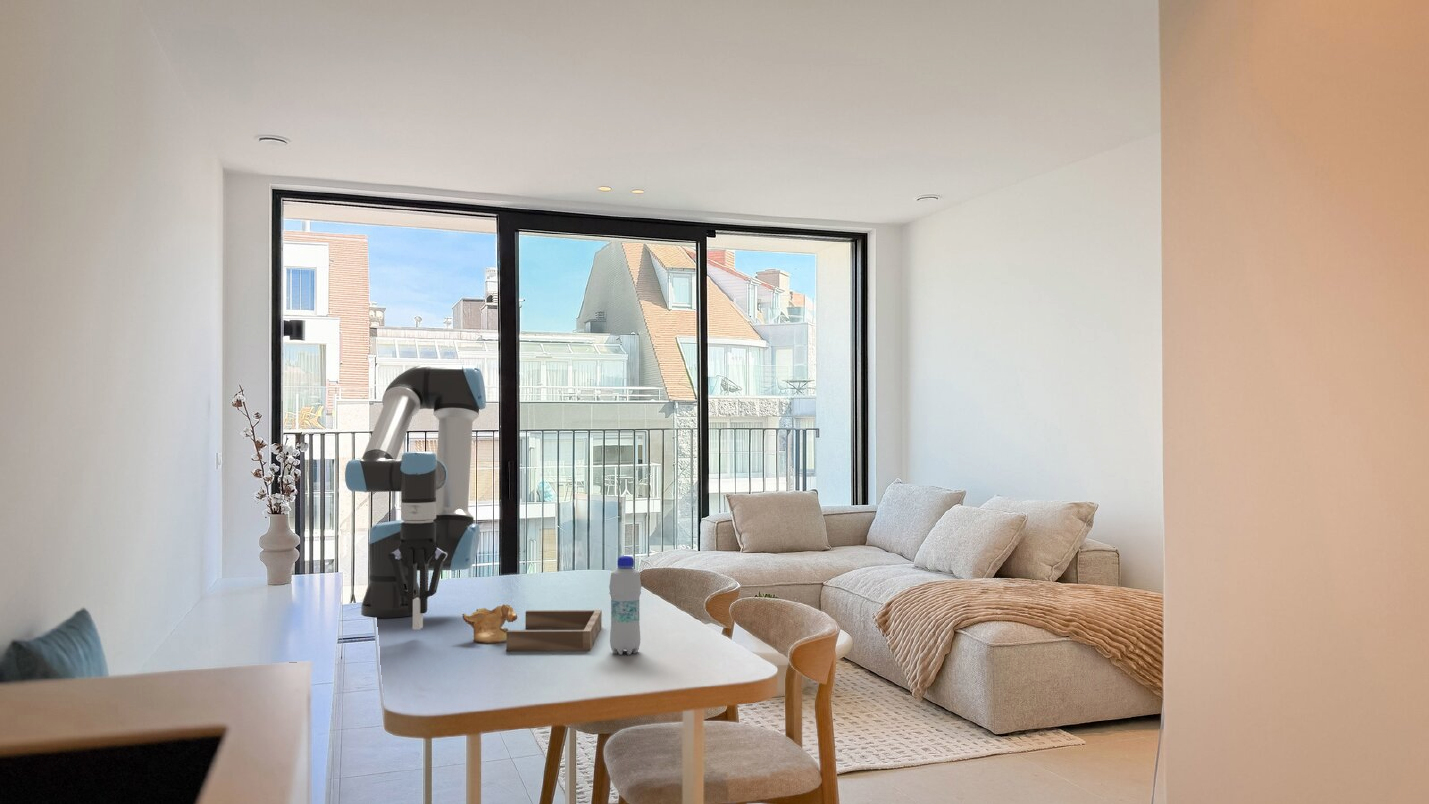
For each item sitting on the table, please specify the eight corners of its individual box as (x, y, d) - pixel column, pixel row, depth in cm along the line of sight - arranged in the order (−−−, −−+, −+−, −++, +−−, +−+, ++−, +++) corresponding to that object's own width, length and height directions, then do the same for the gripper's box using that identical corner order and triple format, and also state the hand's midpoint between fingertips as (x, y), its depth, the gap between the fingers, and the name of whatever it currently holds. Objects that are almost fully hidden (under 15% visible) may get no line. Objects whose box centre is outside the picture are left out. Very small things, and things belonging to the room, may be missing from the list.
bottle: (646, 650, 205) (646, 554, 206) (633, 657, 199) (633, 558, 200) (617, 647, 208) (617, 553, 208) (603, 654, 201) (603, 557, 202)
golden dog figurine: (512, 633, 222) (512, 596, 223) (524, 642, 214) (524, 603, 214) (459, 638, 217) (459, 600, 217) (469, 647, 208) (469, 608, 209)
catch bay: (526, 627, 229) (526, 610, 229) (601, 627, 229) (601, 610, 229) (506, 650, 205) (506, 631, 205) (590, 650, 205) (590, 631, 205)
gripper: (383, 522, 213) (382, 631, 213) (443, 522, 214) (442, 631, 213) (394, 519, 221) (393, 624, 220) (452, 519, 221) (451, 624, 220)
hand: (417, 628), depth 217 cm, fingers closed
